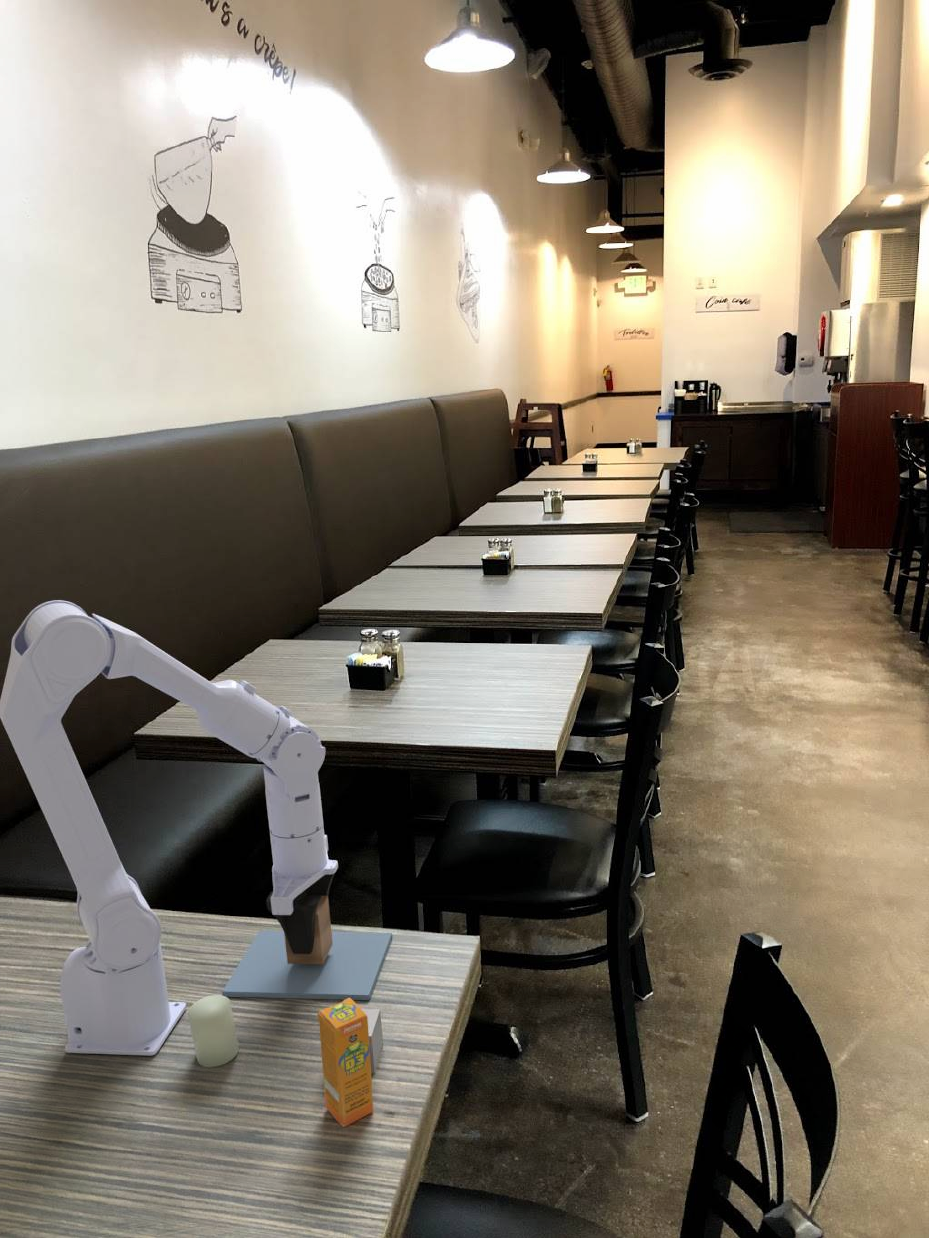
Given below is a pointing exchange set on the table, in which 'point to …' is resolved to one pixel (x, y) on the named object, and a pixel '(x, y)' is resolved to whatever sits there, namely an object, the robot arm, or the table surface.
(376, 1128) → the table surface
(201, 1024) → the sage cylinder
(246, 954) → the slate mat
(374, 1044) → the grey cube
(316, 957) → the walnut block
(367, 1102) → the supplement box
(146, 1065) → the table surface
